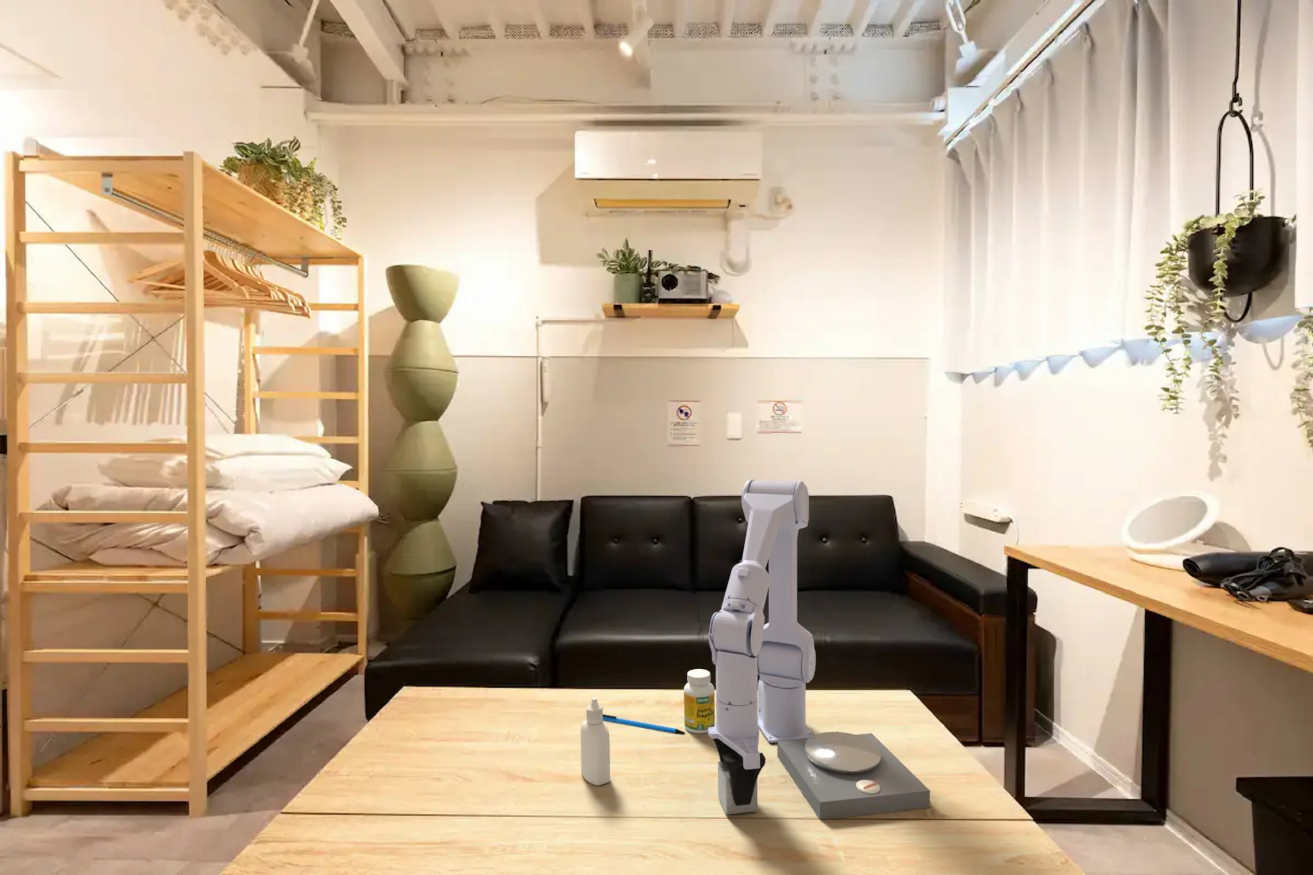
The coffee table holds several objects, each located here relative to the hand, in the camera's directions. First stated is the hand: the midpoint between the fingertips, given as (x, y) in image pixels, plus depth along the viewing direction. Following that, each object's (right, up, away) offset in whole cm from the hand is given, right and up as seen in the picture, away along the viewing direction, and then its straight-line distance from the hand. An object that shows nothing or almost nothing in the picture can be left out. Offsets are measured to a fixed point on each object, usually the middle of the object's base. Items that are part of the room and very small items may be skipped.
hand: (737, 793), depth 94 cm
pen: (-15, -2, +25) cm, 29 cm away
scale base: (+17, -1, +7) cm, 19 cm away
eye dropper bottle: (-21, -2, +8) cm, 22 cm away
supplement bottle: (-4, -1, +24) cm, 24 cm away
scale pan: (+17, +2, +8) cm, 19 cm away
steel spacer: (0, -1, 0) cm, 1 cm away
